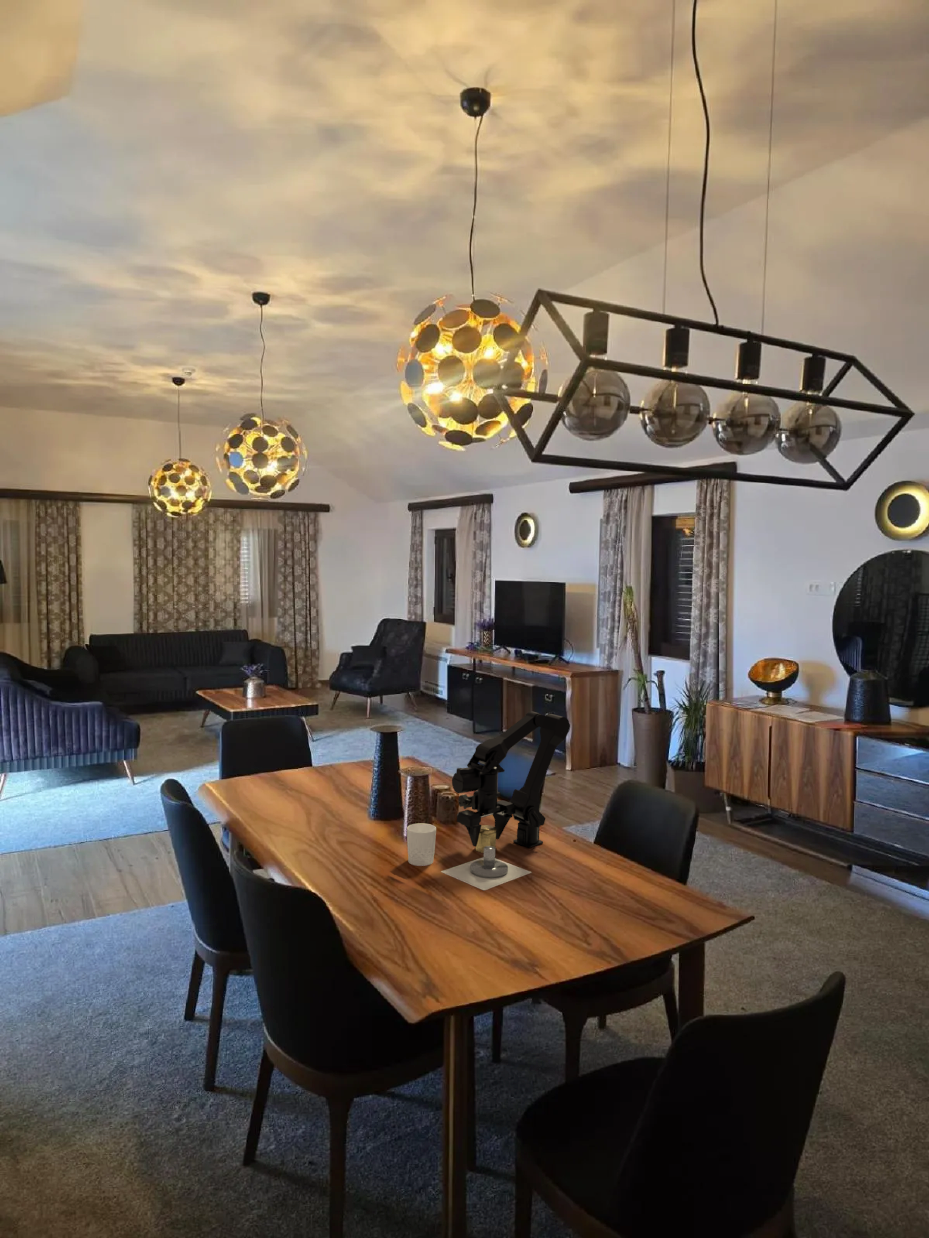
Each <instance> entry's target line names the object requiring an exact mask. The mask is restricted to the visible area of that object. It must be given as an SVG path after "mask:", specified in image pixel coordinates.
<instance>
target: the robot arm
mask: <svg viewBox="0 0 929 1238" xmlns="http://www.w3.org/2000/svg"><path fill="white" fill-rule="evenodd" d="M538 728H540V729H539V735H540V741H539V745H538V748H537V750H536V753H535V755H534V757H533V760H532V762H531V766H530V768H529V771H528V774H527V776H526V779H525V781H524V783H523V786H521V788H520V789H517V788H516V789H514V790H513V793H512V796H511V798H510V799H509V800H508V801H506V800H498V798H499V797H501V792H499V791H498V788H499V787H498V785H499V784H498V782H499V780H498V779H499V773H505V769H504V768H503V766H501V765H500V764H501V763H502V761H504V759H506V757H507V754H508V752H509V750H511V749H512V748H513V747H514V746H516V745H517V744H518V743H519V742H521V741H522V740H523V739H524V738H526V737H527V736H528V735H530V734H532V732H533V731H534V730H537V729H538ZM570 729H571V724H570V721H569V719H568V718H567V717H564V716H561V715H557V714H553V713H548V714H545V715H544V714H542V713H540V712H535V711H528V712H527V713H526V714H525V716H523V717H522V718H521V719H520V720H518V721H517V722H516V723H514V724H513V725H512V726H510V727H509V728H508V729H506V730H505V731H504V732H502V733H501V734H500V735H498V736H495V737H494V738H490V739H487V740H485V741H483V742H481V743H479V744H478V745H477V746H476V747H475V751H474V753H473V755H471V758H470V759H469V761H468V762H467V764H466V767H457V768H456V771H455V773H454V774H453V776H452V779H451V784H452V788H453V790H454V792H455V793H456V794H461V795H458V801H457V802H458V806H459V807H463V809H464V810H462V811H459V812H458V813H457V814H456V822H457V823H460V825H462V826H464V827H465V828H466V830H467V833H468V835H469V838H470V841H471V845H472V846H473V847H475V848H476V846H477V843H478V838H479V834H480V829H481V825H482V824H480V823H481V822H482V819H483V818H486V817H489V816H492V817H493V819H494V827H495V828H496V840H500V837H501V836H502V834H503V832H504V831H505V828H506V826H507V825H508V823H509V821H510V819H511V818H513V820H515V821H518V822H517V829H516V839H513V843H515V844H518V845H520V846H523V847H526V848H533V847H537V846H539V845H541V844H544V840H541V839H540V828H541V826H544V825H545V822H546V817H545V816H544V815H543V813H541V812H540V806H541V799H540V791H541V789H542V786H543V784H544V781H545V778H546V775H547V772H548V771H549V770H548V769H549V768H550V764H551V762H552V759H553V757H554V754H555V752H556V749H557V748H558V746H559V745H560V744H562V743H563V742H564V741H565V740H566V737H567V736H568V734H569V732H570ZM470 792H473V795H470V796H468V795H467V794H466V793H470ZM464 793H465V794H464ZM469 808H471V809H472V810H470V809H469ZM475 810H476V811H475Z"/></svg>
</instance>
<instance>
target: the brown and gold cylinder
mask: <svg viewBox="0 0 929 1238" xmlns="http://www.w3.org/2000/svg"><path fill="white" fill-rule="evenodd" d="M480 825H481V829H480V834H479V838H478V843H477V846H476V847H475V851H476V852H479V853H481V854H484V847H485V846H493V847H495V850H496V846H497V845H496V843H497V841H496V840H497V839H496V828H495V826H493V825H487V824H483V825H482V824H480Z"/></svg>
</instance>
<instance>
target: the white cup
mask: <svg viewBox="0 0 929 1238" xmlns="http://www.w3.org/2000/svg"><path fill="white" fill-rule="evenodd" d="M436 834H437V827H436V826H435V825H433V824H430V823H420V822H419V823H413V824H410V825H408V826H407V827H406V836H407V837H406V838H407V842H406V843H407V845H406V846H407V855H408V856H407V858H408V859H407V862H408V863H409V864H411V865H412V866H418V867H422V866H423V867H424V866H425V867H426V866H430V865H431V864H433V863H434V857H435V856H434V855H435V851H436V850H435V849H436V837H437V835H436Z"/></svg>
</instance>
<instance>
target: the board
mask: <svg viewBox="0 0 929 1238" xmlns="http://www.w3.org/2000/svg"><path fill="white" fill-rule="evenodd" d="M478 860H484V856H483V857H480V858H477V859H474V860H471V861H468V862H465V863H462V864H459V865H457V866H453V867H450V868H447V869H444V870H441V871H440V873H442V874H445V875H447V876H450V877H452V878H454V879H455V880H456V879H457V880H458V881H461V882H464V883H466V884H468V885H470V886H472V887H475V888H477V889H478V890H482V891H487V890H490V889H492V888H495V887H497V886H500V885H502V884H505V883H507V882H510V881H514V880H516V879H518V878H521V877H524V876H526V875H529V874H532V871H530V870H527V869H524V868H522V867H520V866H519V867H518V866H516V865H515V864H511V863H509V862H506V861H503V860H501V859H498V858H496V857H495V860H497V861H500V862H503V863H505V864H506V865H507V866H508V873H507V875H505V876H503V877H500V878H481V877H477V876H475V875H473V874H472V873H471V872H470V865H471V863H473V862H475V861H478Z"/></svg>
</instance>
